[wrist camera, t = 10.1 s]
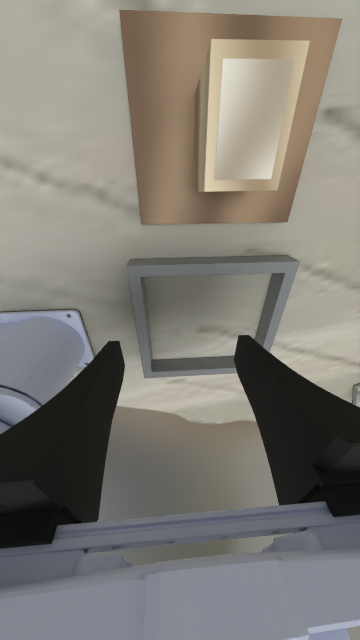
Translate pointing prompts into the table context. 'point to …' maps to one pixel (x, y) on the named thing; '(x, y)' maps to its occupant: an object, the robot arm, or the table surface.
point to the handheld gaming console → (356, 395)
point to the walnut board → (179, 110)
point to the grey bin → (156, 267)
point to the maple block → (245, 113)
